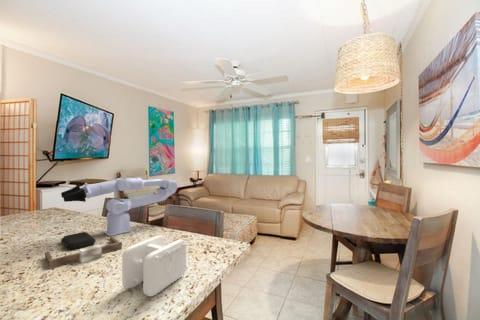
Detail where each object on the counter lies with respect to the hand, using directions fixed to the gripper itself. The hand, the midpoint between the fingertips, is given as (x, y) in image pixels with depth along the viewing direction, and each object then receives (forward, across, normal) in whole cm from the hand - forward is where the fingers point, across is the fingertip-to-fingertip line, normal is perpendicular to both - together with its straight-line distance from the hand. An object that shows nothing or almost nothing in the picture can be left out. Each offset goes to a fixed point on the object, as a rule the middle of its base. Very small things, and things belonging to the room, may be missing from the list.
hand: (62, 197), depth 93 cm
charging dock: (-2, +21, +19) cm, 28 cm away
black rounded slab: (-1, +6, +20) cm, 21 cm away
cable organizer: (-14, +57, +18) cm, 61 cm away
